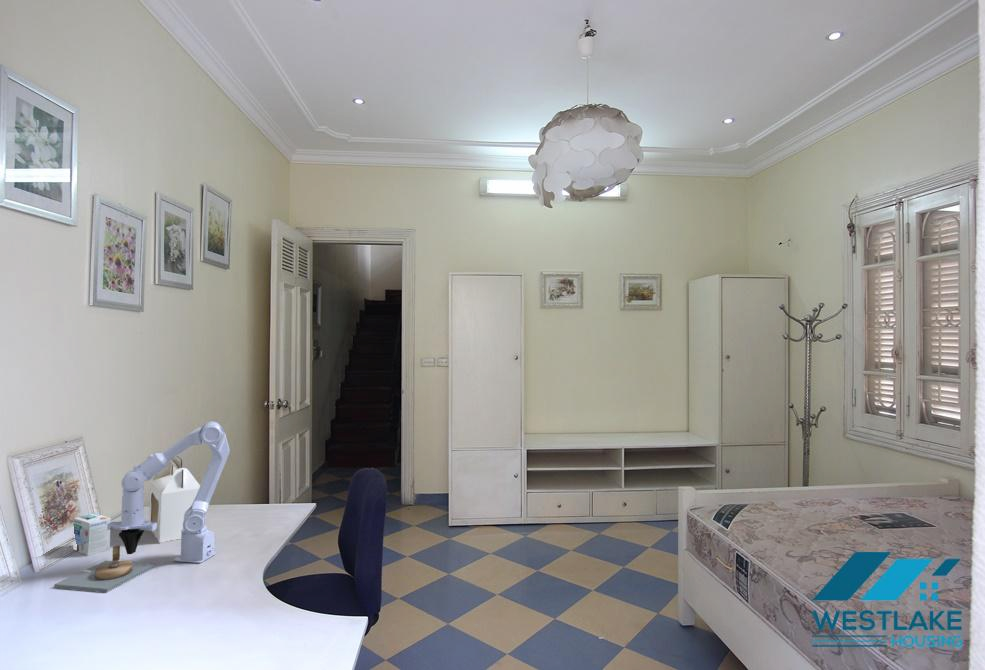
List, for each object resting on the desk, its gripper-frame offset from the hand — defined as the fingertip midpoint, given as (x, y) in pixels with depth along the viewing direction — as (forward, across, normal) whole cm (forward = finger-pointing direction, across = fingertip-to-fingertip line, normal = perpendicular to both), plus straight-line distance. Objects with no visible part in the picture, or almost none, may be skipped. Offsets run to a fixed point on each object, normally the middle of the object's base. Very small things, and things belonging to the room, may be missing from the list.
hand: (131, 553), depth 164 cm
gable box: (+5, -7, +32) cm, 33 cm away
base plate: (+4, -2, -7) cm, 9 cm away
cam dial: (+3, -1, -6) cm, 7 cm away
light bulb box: (+5, -23, +12) cm, 27 cm away
